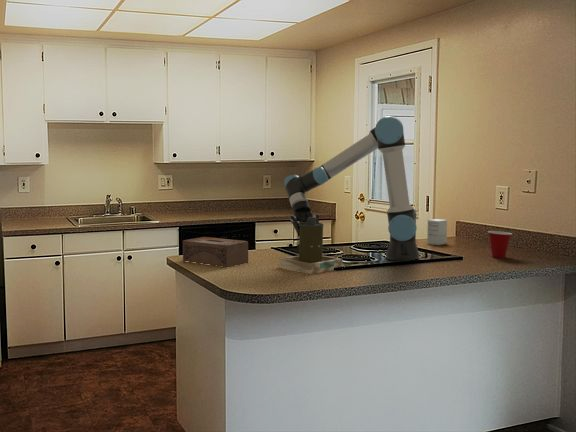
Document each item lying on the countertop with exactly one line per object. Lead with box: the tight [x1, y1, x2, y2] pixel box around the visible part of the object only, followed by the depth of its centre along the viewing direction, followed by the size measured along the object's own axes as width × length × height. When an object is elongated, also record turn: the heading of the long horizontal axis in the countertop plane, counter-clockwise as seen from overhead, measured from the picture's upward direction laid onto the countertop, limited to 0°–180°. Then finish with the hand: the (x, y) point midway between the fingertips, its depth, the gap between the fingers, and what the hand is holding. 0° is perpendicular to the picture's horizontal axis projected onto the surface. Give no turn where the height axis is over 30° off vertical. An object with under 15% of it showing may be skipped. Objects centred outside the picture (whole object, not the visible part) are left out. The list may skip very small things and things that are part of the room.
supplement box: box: [426, 218, 448, 246], centre depth 365 cm, size 7×7×13 cm
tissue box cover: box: [182, 236, 249, 268], centre depth 311 cm, size 26×14×10 cm, turn 55°
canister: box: [296, 217, 324, 263], centre depth 297 cm, size 11×10×20 cm
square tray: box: [277, 254, 345, 275], centre depth 298 cm, size 20×20×4 cm
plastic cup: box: [487, 230, 513, 259], centre depth 324 cm, size 11×11×12 cm
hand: (314, 248), depth 294 cm, fingers open, 2 cm apart
